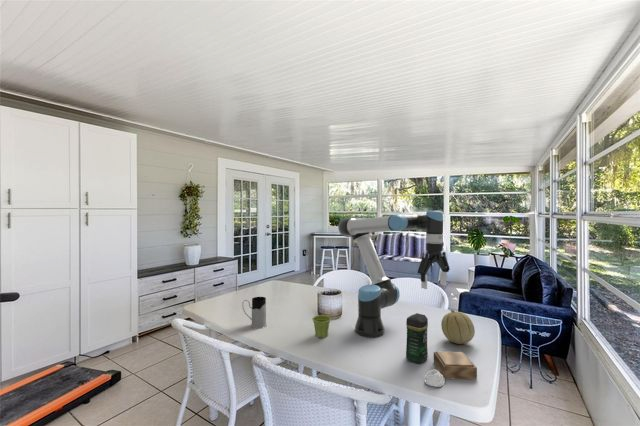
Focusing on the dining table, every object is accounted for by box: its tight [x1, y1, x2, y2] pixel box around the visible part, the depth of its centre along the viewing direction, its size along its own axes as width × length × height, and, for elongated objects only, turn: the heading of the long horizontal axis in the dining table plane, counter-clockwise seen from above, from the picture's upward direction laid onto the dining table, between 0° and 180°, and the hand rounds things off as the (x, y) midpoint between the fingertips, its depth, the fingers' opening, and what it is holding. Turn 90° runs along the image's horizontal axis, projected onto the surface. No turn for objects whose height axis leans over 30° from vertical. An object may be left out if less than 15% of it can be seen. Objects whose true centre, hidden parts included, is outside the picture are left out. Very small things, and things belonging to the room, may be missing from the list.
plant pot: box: [312, 314, 332, 339], centre depth 151 cm, size 9×9×9 cm
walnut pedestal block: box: [433, 350, 478, 380], centre depth 117 cm, size 12×12×5 cm
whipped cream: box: [424, 369, 446, 388], centre depth 109 cm, size 8×7×5 cm
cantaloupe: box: [440, 309, 476, 345], centre depth 143 cm, size 15×15×15 cm
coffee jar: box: [405, 312, 429, 364], centre depth 127 cm, size 10×8×19 cm
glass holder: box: [241, 296, 268, 329], centre depth 165 cm, size 9×14×15 cm, turn 78°
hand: (433, 286), depth 143 cm, fingers open, 13 cm apart
